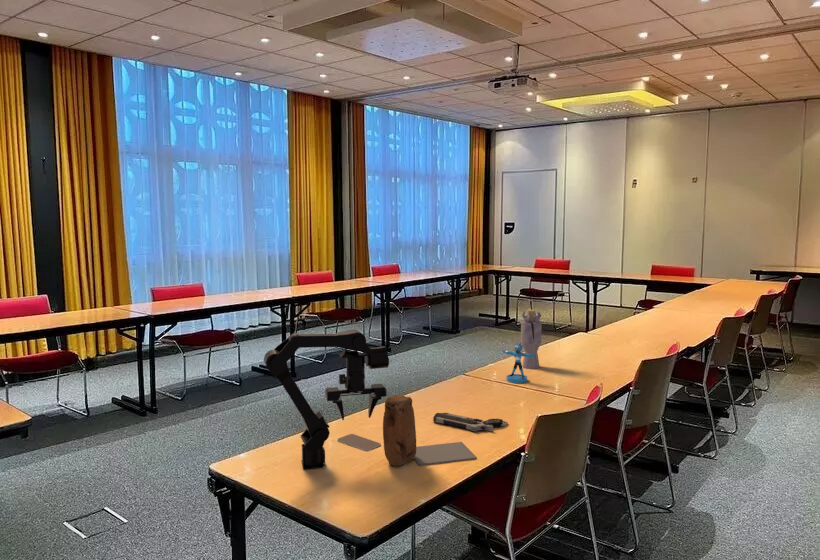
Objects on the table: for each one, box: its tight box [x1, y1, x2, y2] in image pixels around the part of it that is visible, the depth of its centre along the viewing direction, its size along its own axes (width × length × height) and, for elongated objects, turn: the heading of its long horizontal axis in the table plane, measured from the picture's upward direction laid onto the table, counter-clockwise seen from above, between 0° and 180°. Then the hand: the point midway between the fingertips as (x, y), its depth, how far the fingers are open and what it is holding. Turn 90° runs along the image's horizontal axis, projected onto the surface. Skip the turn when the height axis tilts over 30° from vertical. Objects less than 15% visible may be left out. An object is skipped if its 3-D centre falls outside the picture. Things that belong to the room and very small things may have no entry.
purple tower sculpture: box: [520, 309, 543, 370], centre depth 303 cm, size 10×10×30 cm
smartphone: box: [337, 433, 382, 452], centre depth 201 cm, size 7×1×15 cm
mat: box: [413, 441, 478, 467], centre depth 190 cm, size 19×14×1 cm
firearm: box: [432, 412, 509, 433], centre depth 219 cm, size 3×24×15 cm
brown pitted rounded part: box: [382, 394, 417, 467], centre depth 184 cm, size 11×8×20 cm
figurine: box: [501, 342, 536, 384], centre depth 277 cm, size 18×10×18 cm, turn 52°
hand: (356, 418), depth 186 cm, fingers open, 8 cm apart
